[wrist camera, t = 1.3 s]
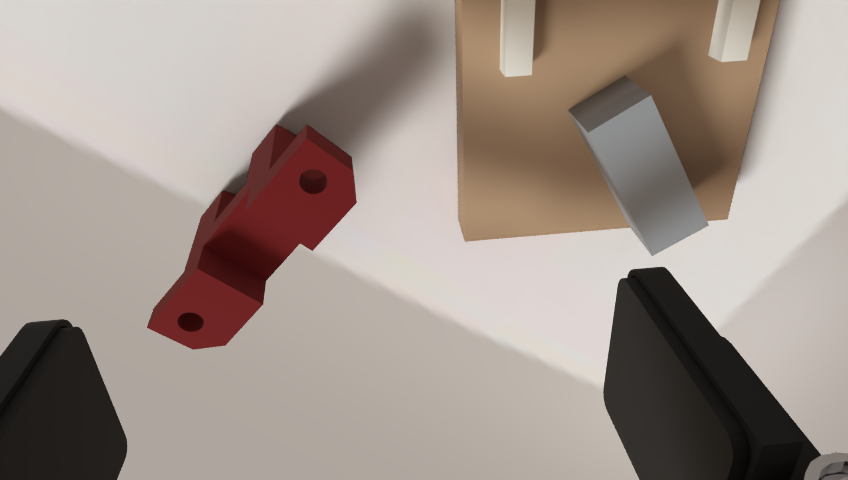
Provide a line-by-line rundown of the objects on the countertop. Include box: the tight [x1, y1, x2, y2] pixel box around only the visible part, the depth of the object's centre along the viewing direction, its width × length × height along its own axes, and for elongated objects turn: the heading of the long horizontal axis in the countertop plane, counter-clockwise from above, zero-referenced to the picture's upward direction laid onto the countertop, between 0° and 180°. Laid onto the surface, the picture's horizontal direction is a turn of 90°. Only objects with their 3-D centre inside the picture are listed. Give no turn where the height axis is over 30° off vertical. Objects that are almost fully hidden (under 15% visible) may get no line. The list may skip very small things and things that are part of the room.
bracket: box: [147, 125, 357, 349], centre depth 25 cm, size 3×6×10 cm
